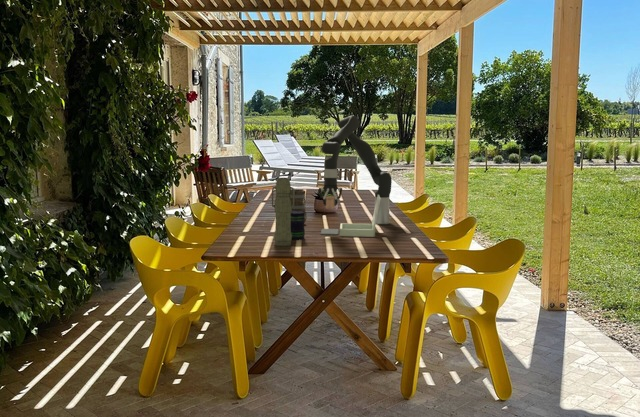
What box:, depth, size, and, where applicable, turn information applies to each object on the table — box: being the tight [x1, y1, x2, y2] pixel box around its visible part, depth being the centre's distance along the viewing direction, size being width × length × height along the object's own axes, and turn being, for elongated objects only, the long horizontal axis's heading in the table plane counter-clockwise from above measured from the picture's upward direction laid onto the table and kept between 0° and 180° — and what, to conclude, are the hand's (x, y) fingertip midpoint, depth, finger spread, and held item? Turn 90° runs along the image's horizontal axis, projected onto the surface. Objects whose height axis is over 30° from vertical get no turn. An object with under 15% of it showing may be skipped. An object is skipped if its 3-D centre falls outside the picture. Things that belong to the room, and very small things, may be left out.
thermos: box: [271, 177, 296, 247], centre depth 300 cm, size 9×12×35 cm
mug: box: [290, 189, 306, 212], centre depth 425 cm, size 20×14×15 cm
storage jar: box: [291, 211, 306, 241], centre depth 318 cm, size 10×10×15 cm
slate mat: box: [320, 228, 340, 236], centre depth 338 cm, size 10×16×1 cm, turn 177°
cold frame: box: [339, 195, 381, 238], centre depth 336 cm, size 23×20×22 cm
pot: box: [325, 195, 336, 210], centre depth 336 cm, size 6×6×7 cm
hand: (330, 205), depth 336 cm, fingers closed on pot, 5 cm apart
